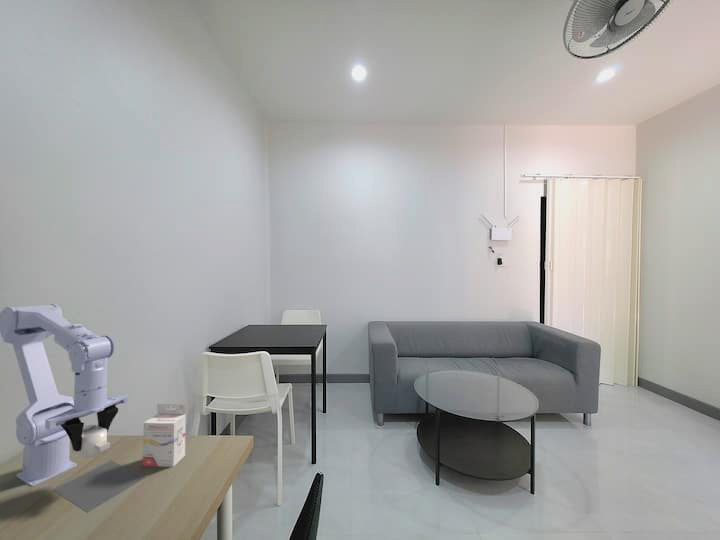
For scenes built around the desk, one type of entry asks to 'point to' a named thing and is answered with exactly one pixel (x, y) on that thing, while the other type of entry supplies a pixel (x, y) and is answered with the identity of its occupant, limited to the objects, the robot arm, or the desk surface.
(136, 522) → the desk surface
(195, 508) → the desk surface
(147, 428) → the ink cartridge box
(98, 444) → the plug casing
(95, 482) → the desk mat
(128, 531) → the desk surface
